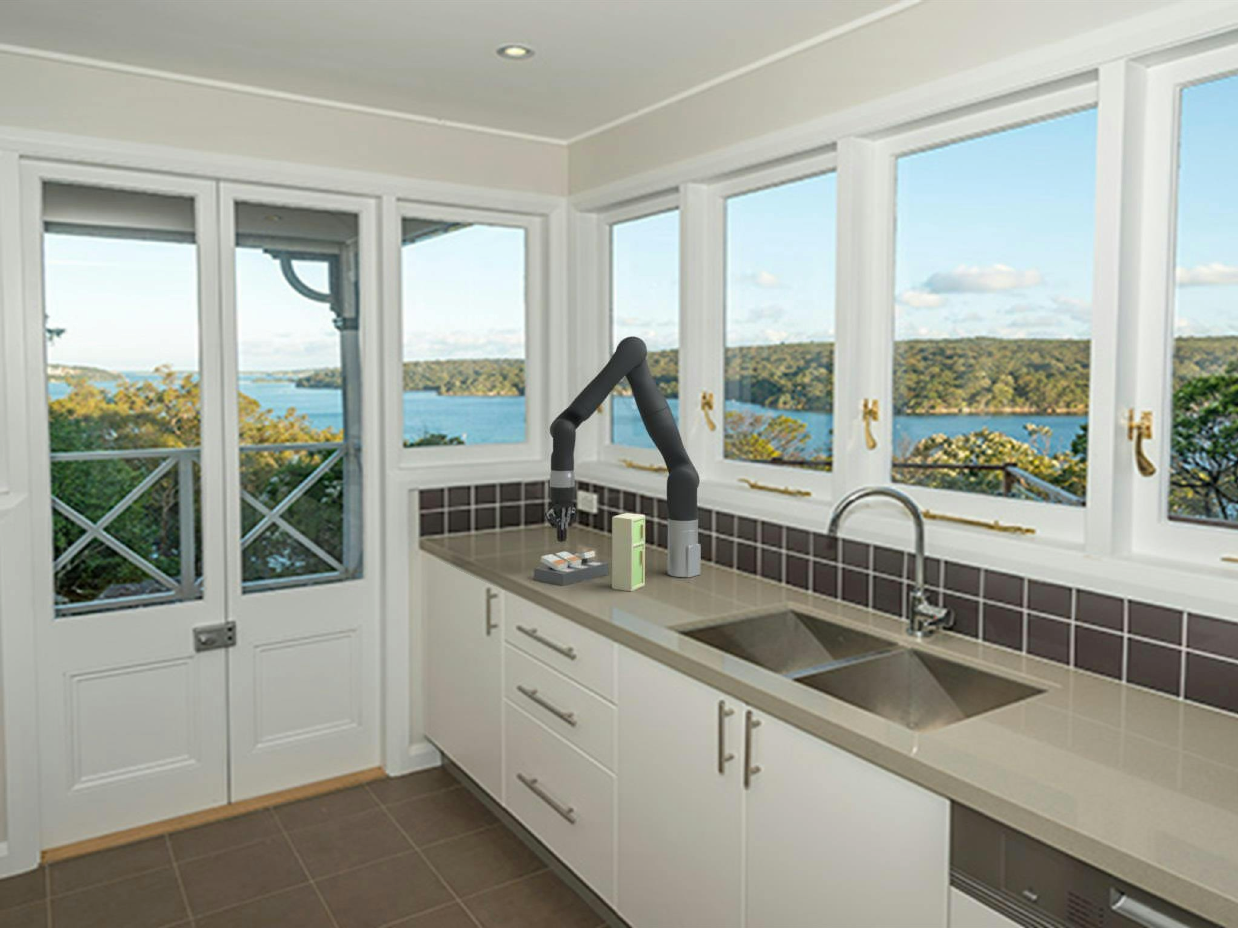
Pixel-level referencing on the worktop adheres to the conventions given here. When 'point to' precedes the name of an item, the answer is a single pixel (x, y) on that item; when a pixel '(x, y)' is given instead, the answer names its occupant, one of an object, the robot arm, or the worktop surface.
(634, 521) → the toy refrigerator
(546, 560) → the block
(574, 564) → the block
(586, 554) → the rocker
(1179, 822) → the worktop surface
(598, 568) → the rocker switch panel
